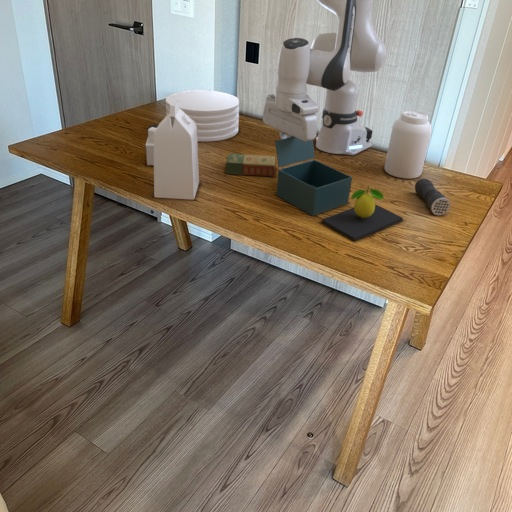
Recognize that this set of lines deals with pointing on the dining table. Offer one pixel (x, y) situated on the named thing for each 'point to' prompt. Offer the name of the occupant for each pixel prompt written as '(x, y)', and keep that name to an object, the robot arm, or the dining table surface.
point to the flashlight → (432, 197)
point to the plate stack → (209, 112)
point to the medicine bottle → (150, 144)
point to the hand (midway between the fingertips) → (286, 146)
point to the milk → (176, 156)
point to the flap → (293, 151)
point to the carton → (250, 164)
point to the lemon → (365, 202)
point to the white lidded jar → (408, 145)
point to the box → (313, 186)
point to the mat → (361, 222)
